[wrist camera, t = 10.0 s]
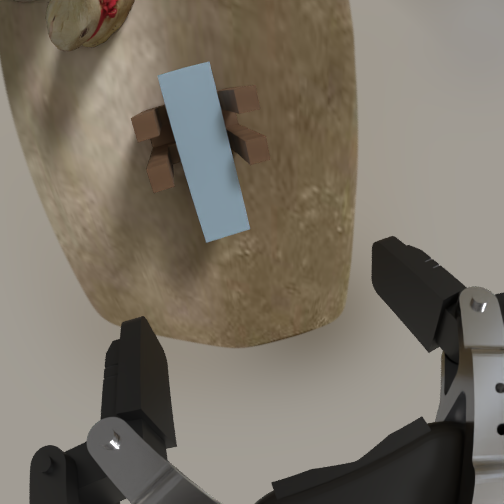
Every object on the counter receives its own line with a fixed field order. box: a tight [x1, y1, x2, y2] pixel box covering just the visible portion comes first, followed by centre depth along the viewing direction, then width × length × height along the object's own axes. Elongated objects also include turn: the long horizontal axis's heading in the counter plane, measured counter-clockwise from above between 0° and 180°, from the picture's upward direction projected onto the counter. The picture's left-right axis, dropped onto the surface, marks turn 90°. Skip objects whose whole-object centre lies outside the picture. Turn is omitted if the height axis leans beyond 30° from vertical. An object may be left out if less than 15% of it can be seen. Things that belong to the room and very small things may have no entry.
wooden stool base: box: [131, 85, 270, 193], centre depth 20 cm, size 4×7×8 cm, turn 102°
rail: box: [158, 62, 250, 243], centre depth 20 cm, size 11×3×4 cm, turn 12°
